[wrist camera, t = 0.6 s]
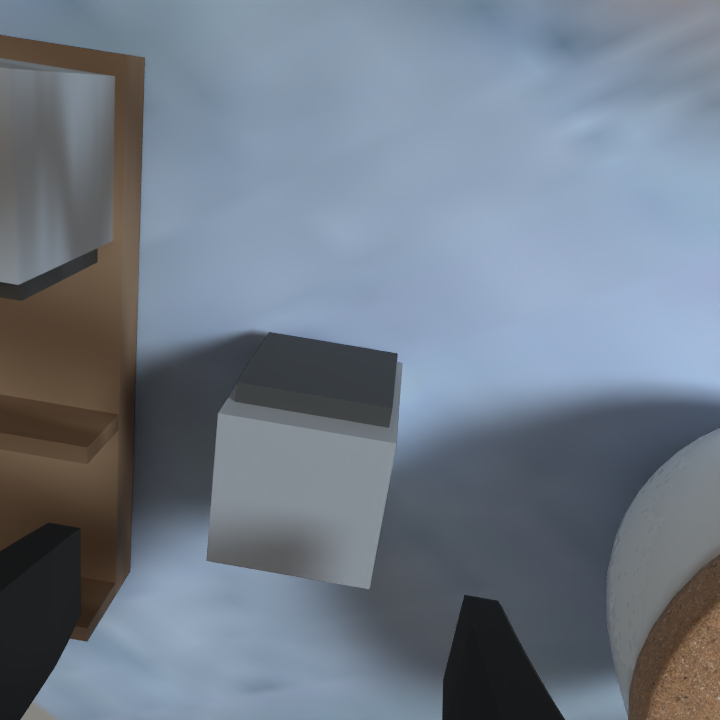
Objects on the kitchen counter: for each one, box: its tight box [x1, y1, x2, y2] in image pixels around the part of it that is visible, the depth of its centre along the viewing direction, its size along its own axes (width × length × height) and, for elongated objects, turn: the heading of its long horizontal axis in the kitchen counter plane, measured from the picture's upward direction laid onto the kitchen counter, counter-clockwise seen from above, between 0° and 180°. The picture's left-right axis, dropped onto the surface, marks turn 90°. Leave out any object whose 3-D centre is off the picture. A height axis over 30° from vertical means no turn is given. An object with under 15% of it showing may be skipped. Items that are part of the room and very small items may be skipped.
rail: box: [0, 35, 145, 641], centre depth 18 cm, size 16×4×6 cm, turn 172°
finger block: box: [207, 332, 402, 589], centre depth 18 cm, size 4×4×5 cm
